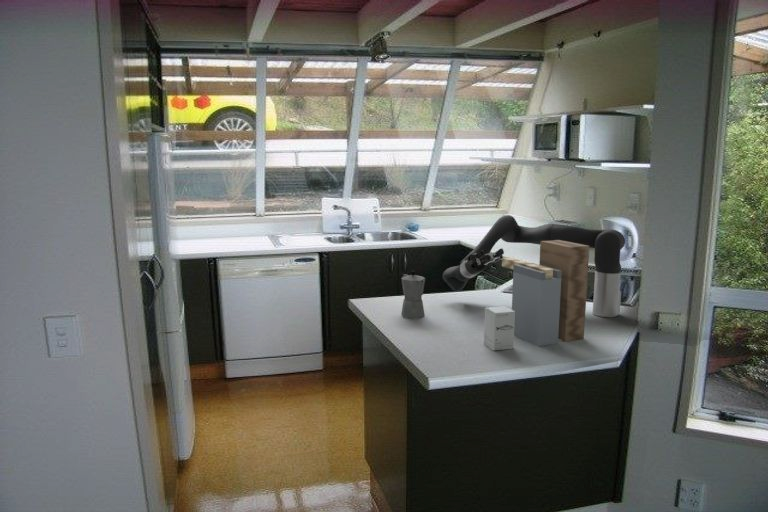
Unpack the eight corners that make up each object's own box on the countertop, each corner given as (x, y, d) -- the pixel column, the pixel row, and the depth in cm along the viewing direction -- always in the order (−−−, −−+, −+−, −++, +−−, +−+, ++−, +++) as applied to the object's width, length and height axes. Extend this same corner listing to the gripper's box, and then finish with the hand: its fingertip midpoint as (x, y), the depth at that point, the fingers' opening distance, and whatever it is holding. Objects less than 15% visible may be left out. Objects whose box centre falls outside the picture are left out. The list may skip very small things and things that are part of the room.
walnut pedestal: (554, 326, 202) (558, 239, 196) (583, 338, 188) (589, 245, 182) (536, 329, 199) (540, 241, 193) (565, 341, 185) (570, 247, 179)
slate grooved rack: (529, 330, 197) (532, 262, 193) (557, 342, 184) (561, 270, 180) (510, 333, 194) (513, 264, 190) (538, 346, 181) (541, 272, 176)
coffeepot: (432, 317, 214) (433, 271, 211) (413, 321, 209) (413, 274, 206) (409, 308, 227) (409, 265, 223) (390, 312, 221) (390, 268, 218)
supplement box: (493, 351, 176) (494, 312, 174) (483, 343, 183) (484, 307, 181) (514, 349, 178) (515, 311, 176) (503, 341, 185) (504, 305, 183)
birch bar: (501, 266, 201) (502, 258, 200) (508, 265, 202) (509, 257, 201) (545, 279, 179) (545, 270, 178) (552, 278, 180) (553, 269, 179)
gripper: (455, 258, 221) (474, 243, 206) (485, 256, 226) (506, 241, 212) (459, 276, 218) (479, 262, 204) (490, 273, 224) (511, 259, 210)
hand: (493, 251), depth 208 cm, fingers open, 8 cm apart
